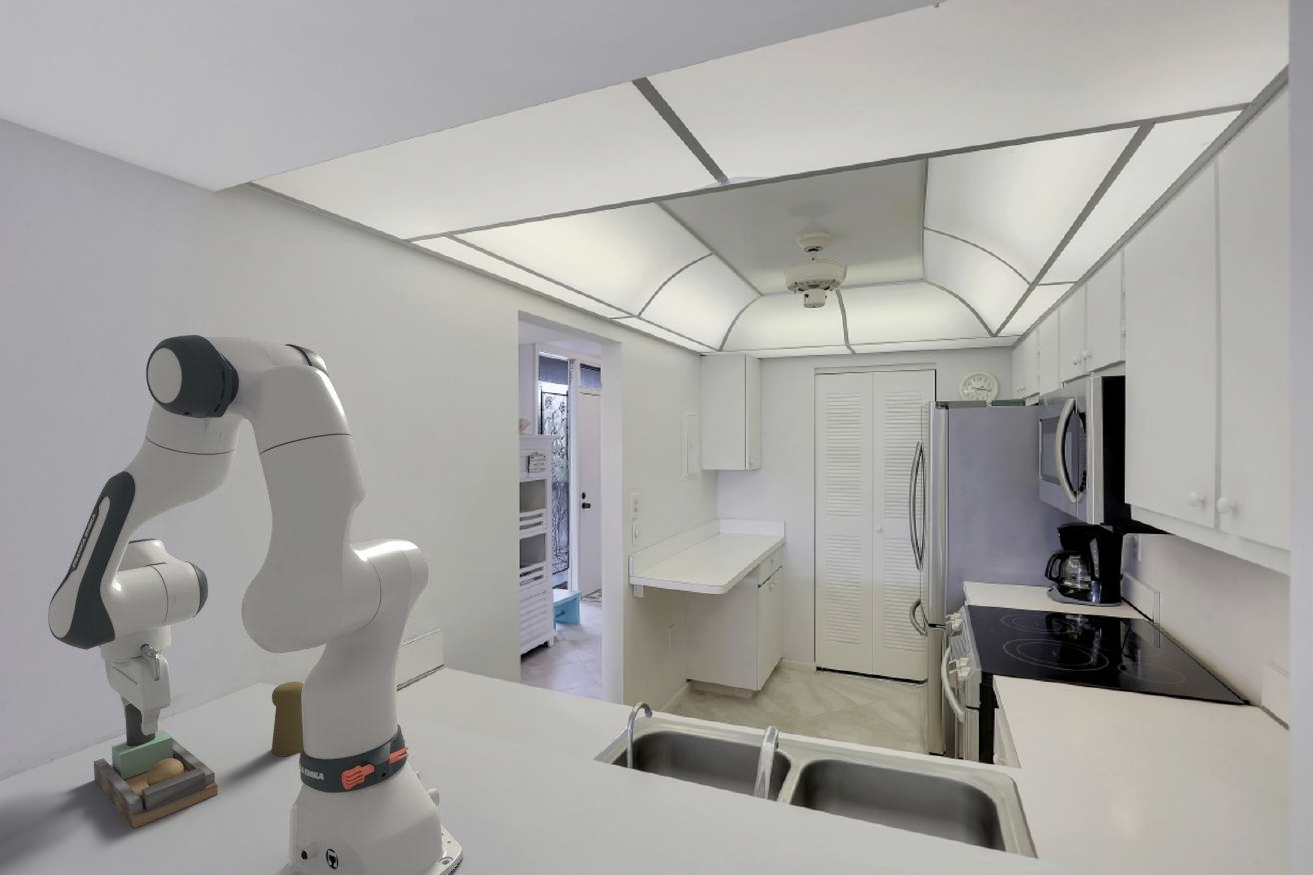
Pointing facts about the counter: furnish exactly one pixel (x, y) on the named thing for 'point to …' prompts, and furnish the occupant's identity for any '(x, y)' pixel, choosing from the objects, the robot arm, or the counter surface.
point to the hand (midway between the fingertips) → (140, 725)
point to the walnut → (164, 771)
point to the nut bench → (159, 812)
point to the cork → (287, 719)
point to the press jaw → (139, 747)
